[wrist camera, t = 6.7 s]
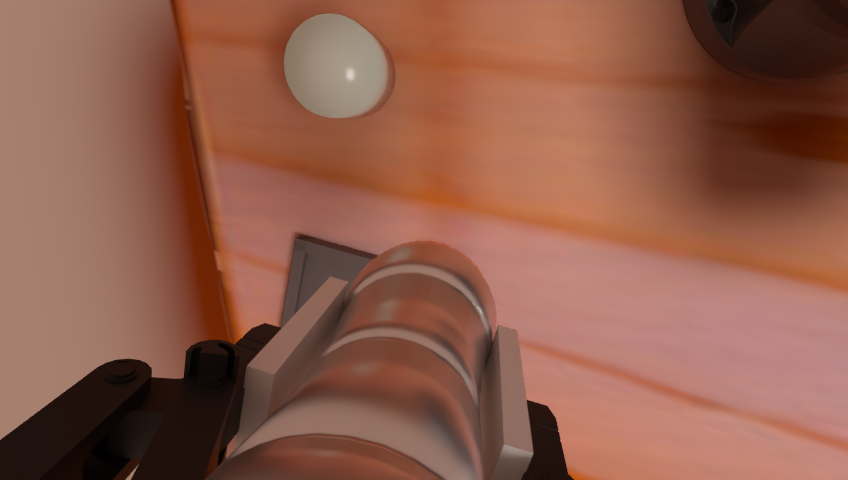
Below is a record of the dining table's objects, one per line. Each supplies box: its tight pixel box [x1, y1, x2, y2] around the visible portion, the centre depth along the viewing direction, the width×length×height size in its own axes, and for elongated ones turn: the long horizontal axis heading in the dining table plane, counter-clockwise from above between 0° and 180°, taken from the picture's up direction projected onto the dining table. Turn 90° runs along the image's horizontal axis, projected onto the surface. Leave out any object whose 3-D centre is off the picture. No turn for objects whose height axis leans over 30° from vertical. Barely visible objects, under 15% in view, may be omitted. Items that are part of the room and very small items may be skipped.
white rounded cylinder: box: [284, 13, 395, 118], centre depth 32 cm, size 6×6×6 cm
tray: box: [281, 235, 377, 328], centre depth 41 cm, size 16×12×1 cm
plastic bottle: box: [205, 241, 497, 480], centre depth 12 cm, size 6×7×20 cm
